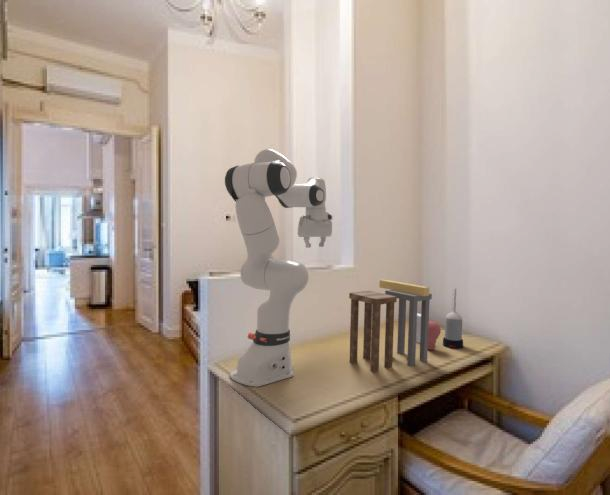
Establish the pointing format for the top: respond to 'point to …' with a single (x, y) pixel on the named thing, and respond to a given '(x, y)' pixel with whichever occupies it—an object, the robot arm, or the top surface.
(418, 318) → the skincare box
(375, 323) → the walnut stand
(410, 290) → the ochre bar
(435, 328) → the light bulb
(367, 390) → the top surface
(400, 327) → the charcoal stand
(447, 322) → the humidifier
